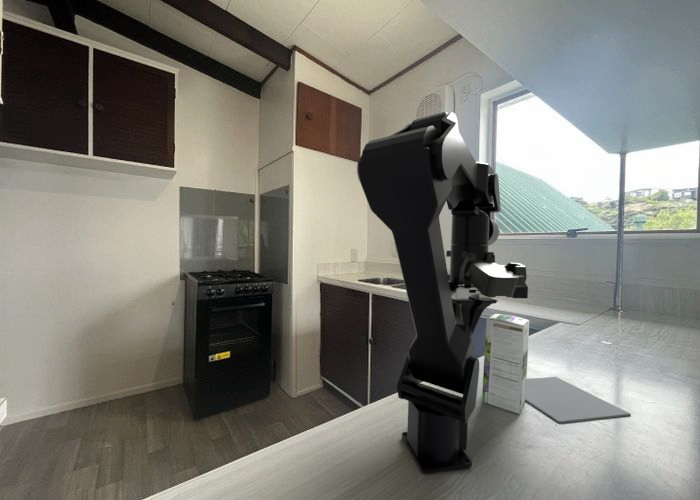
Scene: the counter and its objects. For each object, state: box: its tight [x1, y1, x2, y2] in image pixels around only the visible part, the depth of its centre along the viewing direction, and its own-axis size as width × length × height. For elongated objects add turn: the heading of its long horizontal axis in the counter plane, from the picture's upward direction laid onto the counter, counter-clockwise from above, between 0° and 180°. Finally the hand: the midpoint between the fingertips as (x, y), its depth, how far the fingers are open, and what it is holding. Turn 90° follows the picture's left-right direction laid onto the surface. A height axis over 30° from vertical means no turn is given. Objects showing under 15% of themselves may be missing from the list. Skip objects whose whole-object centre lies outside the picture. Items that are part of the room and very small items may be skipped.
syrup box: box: [481, 313, 530, 415], centre depth 47 cm, size 6×6×14 cm
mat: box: [525, 376, 632, 424], centre depth 50 cm, size 14×13×1 cm
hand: (465, 339), depth 46 cm, fingers closed
